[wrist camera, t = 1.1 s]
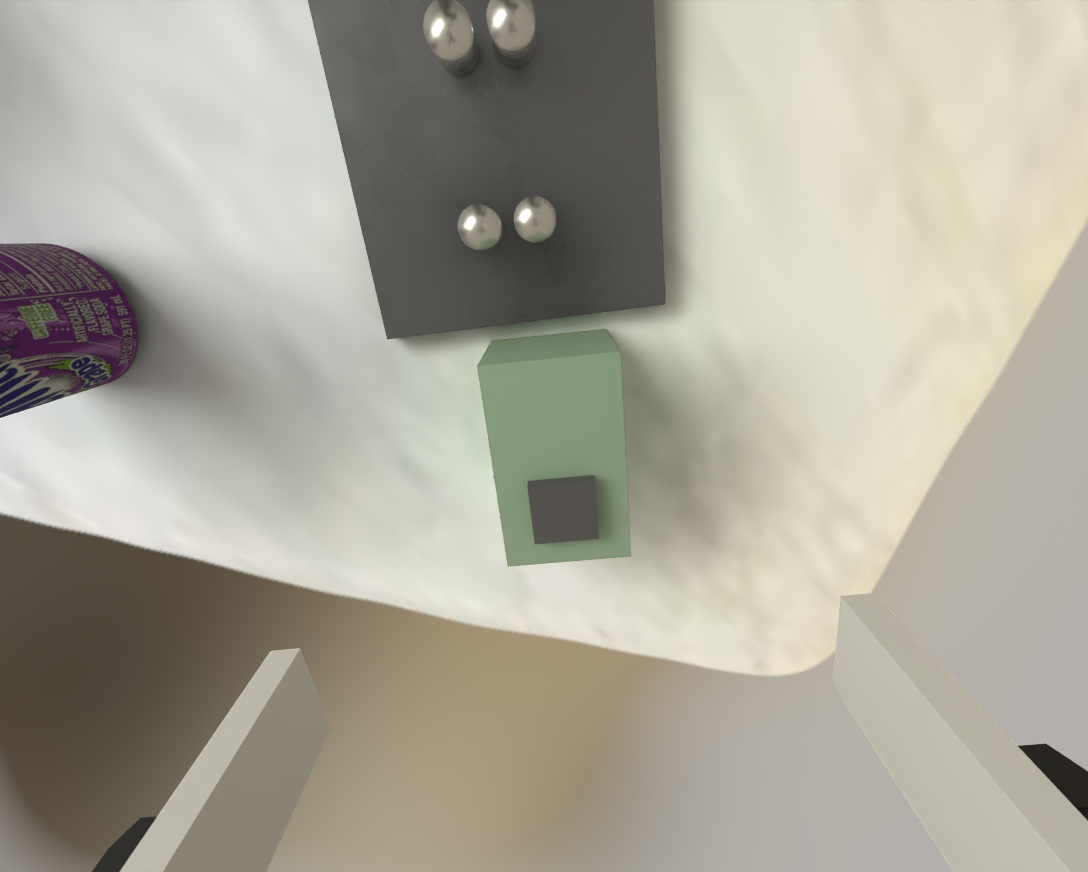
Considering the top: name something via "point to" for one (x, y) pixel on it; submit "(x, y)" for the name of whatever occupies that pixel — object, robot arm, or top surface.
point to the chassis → (499, 155)
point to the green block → (558, 446)
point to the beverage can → (59, 326)
